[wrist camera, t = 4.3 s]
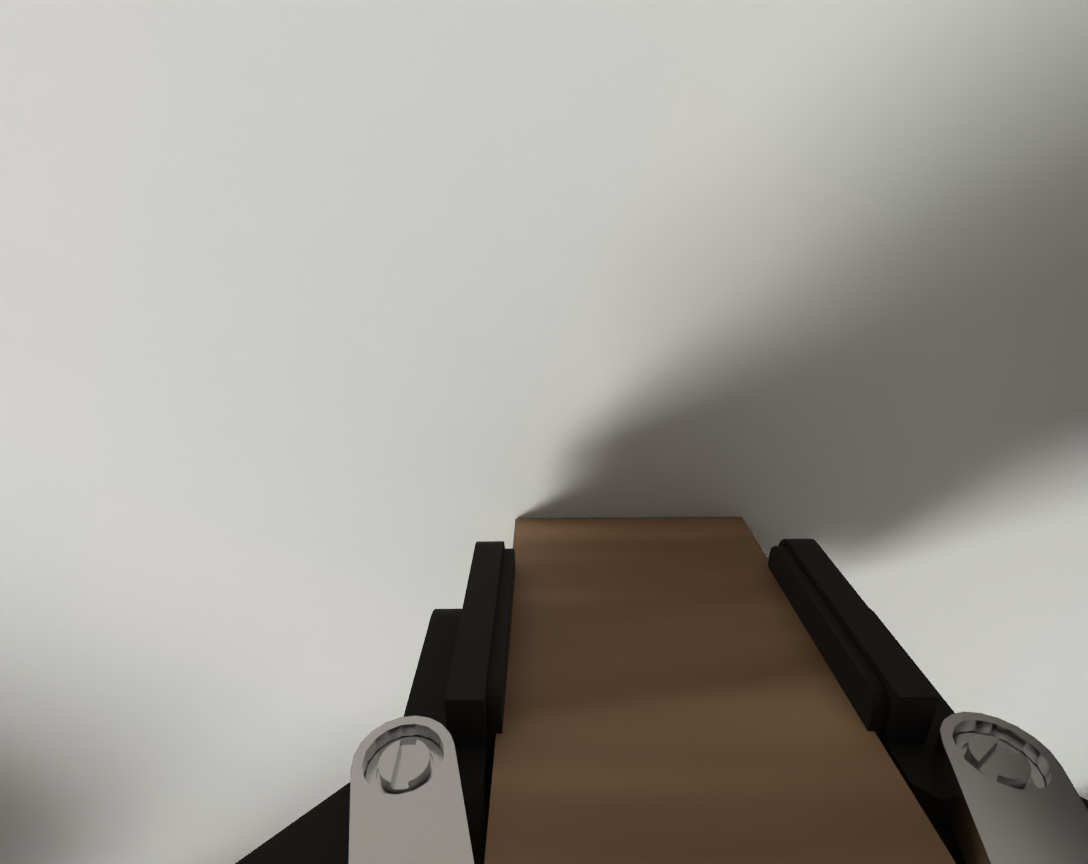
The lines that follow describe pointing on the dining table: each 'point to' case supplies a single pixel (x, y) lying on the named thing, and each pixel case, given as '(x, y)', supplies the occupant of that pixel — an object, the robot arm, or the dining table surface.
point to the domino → (680, 712)
